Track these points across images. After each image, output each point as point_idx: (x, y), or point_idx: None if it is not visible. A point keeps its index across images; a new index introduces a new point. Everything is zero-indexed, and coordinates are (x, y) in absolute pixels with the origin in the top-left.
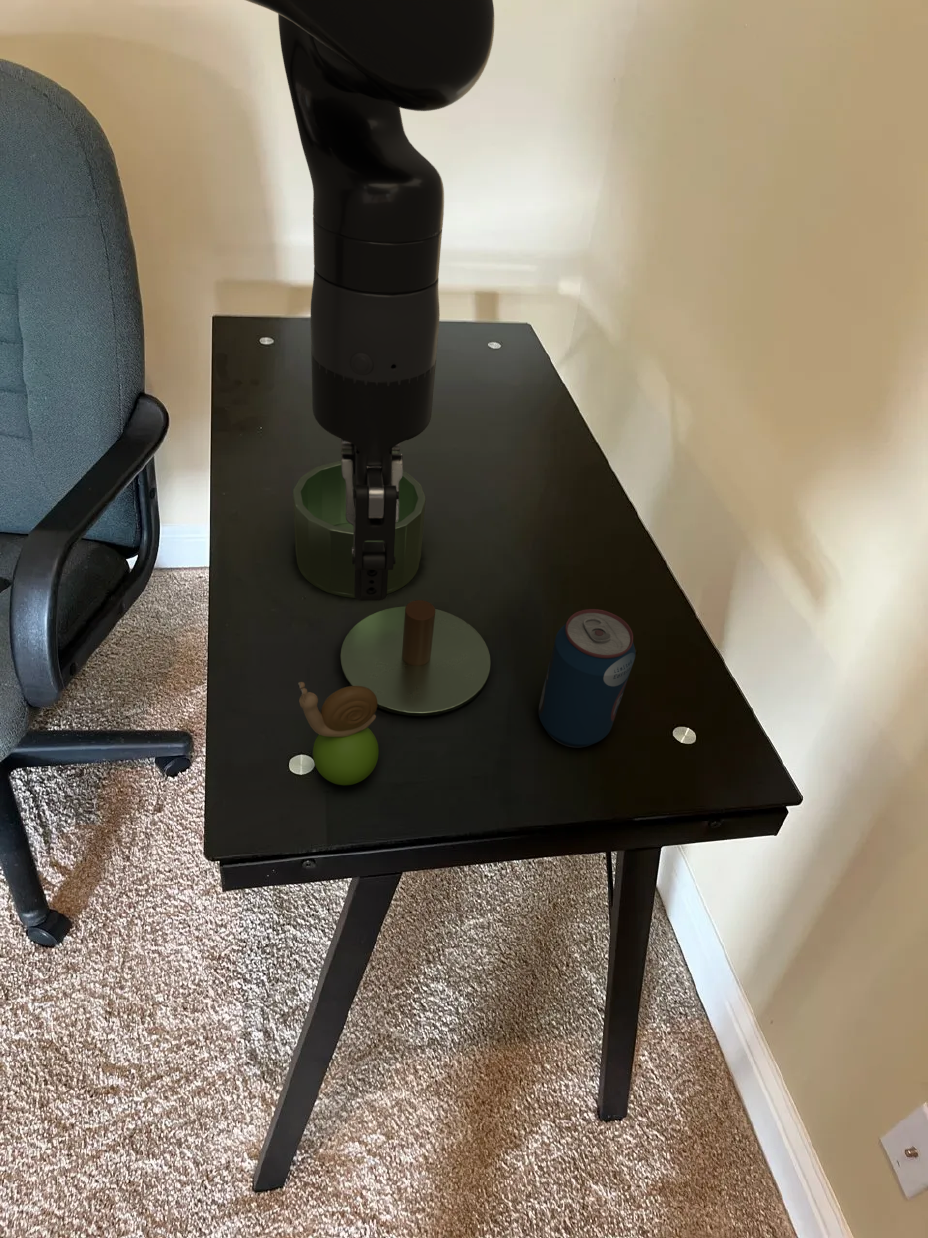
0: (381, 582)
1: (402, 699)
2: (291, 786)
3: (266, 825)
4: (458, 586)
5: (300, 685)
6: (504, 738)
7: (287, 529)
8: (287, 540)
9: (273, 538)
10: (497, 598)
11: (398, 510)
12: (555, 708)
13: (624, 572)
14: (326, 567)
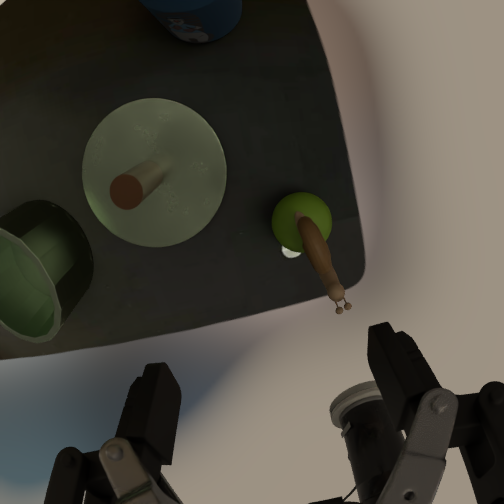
0: (424, 359)
1: (211, 178)
2: None
3: (348, 259)
4: (45, 157)
5: (342, 312)
6: (233, 73)
7: None
8: None
9: None
10: (50, 116)
11: (437, 486)
12: (228, 21)
13: (8, 22)
14: (81, 286)
